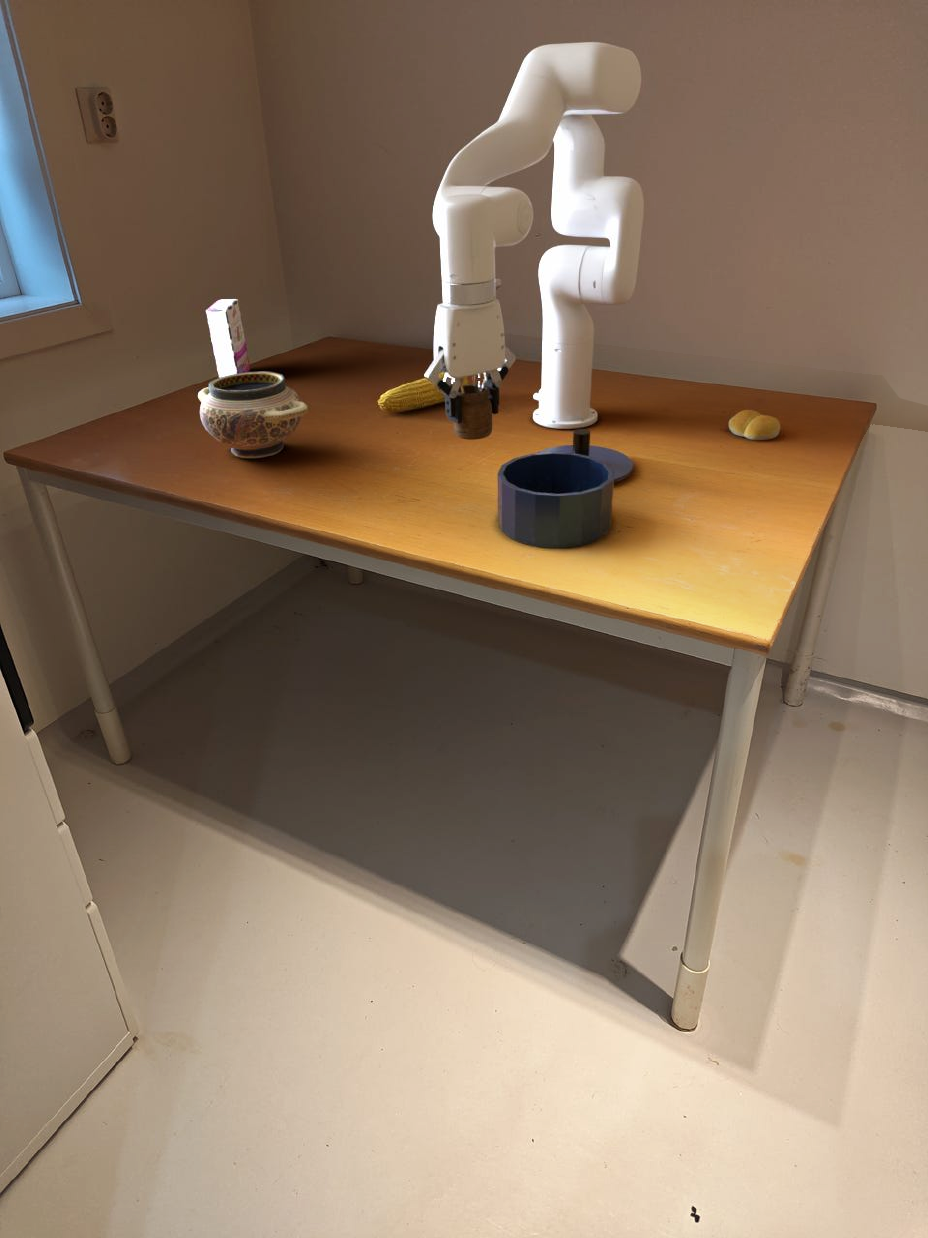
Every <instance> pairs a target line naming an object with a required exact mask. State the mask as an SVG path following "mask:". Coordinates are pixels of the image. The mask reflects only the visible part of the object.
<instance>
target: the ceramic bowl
mask: <svg viewBox="0 0 928 1238" xmlns="http://www.w3.org/2000/svg"><path fill="white" fill-rule="evenodd" d="M197 397H198V400H199V401H200V402H201V404H200V407H199V416H200V420H201V424H202V426H203V427H204V429H205V430H206V432H208V434H209V435H210V436H211V437H213V438H214V439H215V440H216V441H218V442H219V443H221V444H223V445H224V446H226V447H229V448H230V452H231V453H232V454H233V455H234V456H236V457H237V458H241V459H261V458H262V459H263V458H266V457H271V456H274V455H276V454H278V453H280V452H281V451H282V450H283V449H284V448H285V444H284V441H285V440H287V439H288V438H289V437H290V436H292V434H293V433H294V432H295V430H296V429H297V427H298V426H299V425H300V422H301V419H302V416H304V415H306V414H307V413H308V411H309V408H308V405H307V404H306V403H305V402H303V401H302V400H301V398H300V396H299V395H298V394H297V392H296V391H295V390H294V389H292V388H291V387H289V386H287V384H286V378H285V376H284V375H283V374H281V373H278V372H273V371H265V370H264V371H249V372H246V373H238V374H233V375H228V376H224V377H220V378H219V377H217V378H215V379H213V380H211V381H210V382H209V383H208V387H204V388H202V389H201V390H200V391H199V392H198V394H197Z"/></svg>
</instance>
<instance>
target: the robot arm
mask: <svg viewBox="0 0 928 1238" xmlns="http://www.w3.org/2000/svg"><path fill="white" fill-rule="evenodd" d="M641 86H642V71H641V65H640V62H639V60H638V58H637V56H636V54H635V53H634V52H633V51H632V50H631V49H628V48H625V47H622V46H617V45H613V44H609V43H605V42H599V41H584V42H583V41H582V42H568V43H551V44H550V43H549V44H543V45H539V46H537V47H535V48H533V49H531V51H530V52H528V53H527V55H526V56H525V57H524V59H523V61H522V63H521V66H520V68H519V70H518V72H517V75H516V78H515V79H514V82H513V85H512V87H511V89H510V91H509V94H508V97H507V99H506V102H505V104H504V106H503V108H502V111H501V113H500V115H499V118H498V120H497V121H496V122H495V123H494V124H493V125H491V126H489V127H488V128H486V129H485V130H483V131H482V132H481V133H480V134H478V135H477V136H476V137H475V138H473V139H472V140H471V141H470V142H468V144H466V145H465V146H463V148H462V149H460V150H459V151H458V152H457V154H455V156H454V157H453V158H452V159H451V161H450V162H449V164H448V166H447V168H446V170H445V172H444V175H443V177H442V180H441V182H440V184H439V187H438V190H437V192H436V195H435V199H434V202H433V203H434V204H433V208H432V221H433V227H434V230H435V232H436V233H437V235H438V236H439V249H440V269H441V271H440V272H441V288H442V291H441V293H442V303H438V304H437V307H436V312H435V319H434V329H433V331H434V332H433V333H434V334H433V360H432V362H431V364H430V365H429V367H428V368H427V370H426V371H425V373H424V378H426V379H427V380H428V381H430V382H431V383H432V384H434V386H435V387H437V388H438V389H439V390H440V391H441V392H442V393H443V394H445V402H444V408H445V416H447V420H449V421H451V422H453V423H454V422H455V423H457V424H458V423H461V422H462V414H461V398H460V397H458V396H457V394H458V390H459V387H460V383H461V379H462V378H463V377H467V378H468V377H471V376H472V377H473V376H477V375H479V374H480V373H481V374H483V377H485V376H486V378H484V380H485V382H486V383H485V382H484V383H483V384H484V385H483V386H486V387H488V389H489V394H490V395H489V398H488V399H489V400H490V401H491V405H492V415H497V414H499V405H500V388H501V387H502V386H503V380H504V379H505V377H506V376H507V375H508V373H509V370H510V369H511V367H512V366H513V365H514V363H515V362H516V360H517V356H516V355H515V354H514V353H513V352H512V351H511V350H510V349H509V348H508V347H507V346H506V338H505V327H504V320H503V319H504V318H503V314H502V309H501V304H500V301H499V299H497V297H496V296H497V290H500V289H501V288H502V287H503V286H502V280H501V279H500V278H496V248H498V247H499V248H500V247H512V246H515V245H517V244H519V243H520V242H522V241H523V240H524V239H525V238H526V237H527V236H528V234H529V232H530V230H531V228H532V226H533V221H534V209H533V204H532V202H531V200H530V198H529V196H528V195H527V194H526V193H525V192H523V190H521V189H518V188H515V187H510V186H489V184H491V183H492V182H494V181H496V180H499V179H501V178H503V177H506V176H509V175H512V174H514V173H515V174H516V173H518V172H520V171H522V170H525V169H527V168H530V167H532V166H533V165H535V164H538V163H539V162H541V161H542V160H543V159H544V158H545V157H546V156H547V155H548V153H549V151H550V149H551V147H552V144H553V145H554V160H553V161H554V162H553V176H552V193H551V212H550V213H551V223H552V228H553V229H554V230H555V232H557V233H558V234H560V235H563V236H568V237H577V238H597V239H598V238H601V239H608V240H609V244H610V245H609V246H600V245H599V246H597V245H585V244H583V245H582V244H562V245H561V244H560V245H556V246H552V247H551V248H549V249H548V250H546V251H545V252H544V253H543V255H542V257H541V259H540V261H539V266H538V283H539V290H540V296H541V306H542V347H541V349H542V350H541V351H542V352H541V358H542V359H541V388H540V389H539V391H538V392H535V393H534V394H533V396H532V398H533V400H535V401H537V402H538V408H537V409H535V410H534V411H533V412H532V419H533V421H534V422H535V423H536V424H538V425H540V426H542V427H545V428H551V429H557V430H573V429H574V430H577V429H583V428H587V427H589V426H592V425H594V424H595V423H596V422H597V421H598V412H597V410H595V409H594V408H592V407H591V394H592V378H593V358H594V341H595V326H594V325H595V324H594V322H593V318H592V316H591V314H590V312H589V311H588V309H587V307H586V306H585V305H586V304H589V305H603V306H605V305H606V306H622V305H625V304H626V303H628V302H629V301H630V300H631V299H632V297H633V294H634V292H635V289H636V284H637V278H638V271H639V270H638V268H639V261H640V251H641V240H642V231H643V223H644V208H645V207H644V206H645V204H644V203H645V201H644V194H643V189H642V187H641V185H640V183H639V182H638V181H637V180H636V179H634V178H632V177H629V176H628V177H627V176H617V175H616V176H614V175H613V176H612V175H611V176H610V175H609V176H607V175H605V172H604V171H605V170H604V169H605V167H604V166H605V155H606V141H605V137H604V136H603V132H602V130H601V129H600V126H599V125H598V123H597V122H596V120H595V118H594V117H593V115H621V114H625V113H627V112H629V111H630V110H631V109H632V108H633V107H634V105H635V104H636V102H637V100H638V98H639V94H640V91H641ZM445 372H446V373H445ZM441 373H445V376H444V380H442V379H441V378H440V377H439V374H441ZM487 375H488V377H487ZM486 380H487V381H486Z"/></svg>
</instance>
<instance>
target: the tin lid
mask: <svg viewBox="0 0 928 1238" xmlns="http://www.w3.org/2000/svg"><path fill="white" fill-rule="evenodd" d="M572 433H573V434H572V435H573V436H572V444H566V445H559V446H558V445H557V446H553V447H549V448H546V449H542V450H540V451H538V452H537V453H544V452H565V453H576V454H581V455H585V456H590V457H594V458H596V459H598V460H600V461H603V462H605V463H607V464H608V465H609V466H610V467H611V468H612V469H613V471H614V472H615V475H614V483H618V482H620V481H622V480H624V479H626V478H628V477H629V476H630V475H631V474H632V472H633V471H634V470H633V469H634V463H633V461H632V459H631V458H630V457H629V456H627V455H626V454H624V453H623V452H621V451H618V450H616V449H612V448H609V447H605V446H599V445H591V430H589V429H587V428H576V429H574V430H573V432H572Z"/></svg>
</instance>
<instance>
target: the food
mask: <svg viewBox="0 0 928 1238" xmlns="http://www.w3.org/2000/svg"><path fill="white" fill-rule="evenodd" d="M445 373H446V372H445ZM445 373H441V372H440V373H439V377H440V378H441V379H442V380H444V376H445ZM468 381H469V380H468V376H467V377H464V381H462V384H463V385H469V382H468ZM441 403H445V394H443V393H442V392H441V391H440V390H439V389H438V388H437V387H435V386H434V384H432V383H431V382H430V381H428V380H427V379H426V378H425V377H424V378H421V379H418V380H417V379H416V380H415V381H412V382H407V383H406V384H405V383H403V384H401V385H399V386H396V387H393V388H391V389H389V390H387V391H386V392H385V393H383V394H382V395H380V397H379V399H378V400H377V404H378V405H377V406H378V407H379V408H380V410H382V411H384V412H385V413H387V412H388V413H402V412H407V411H413V410H418V409H423V408H428V407H431V406H434V405H436V404H441Z"/></svg>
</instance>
